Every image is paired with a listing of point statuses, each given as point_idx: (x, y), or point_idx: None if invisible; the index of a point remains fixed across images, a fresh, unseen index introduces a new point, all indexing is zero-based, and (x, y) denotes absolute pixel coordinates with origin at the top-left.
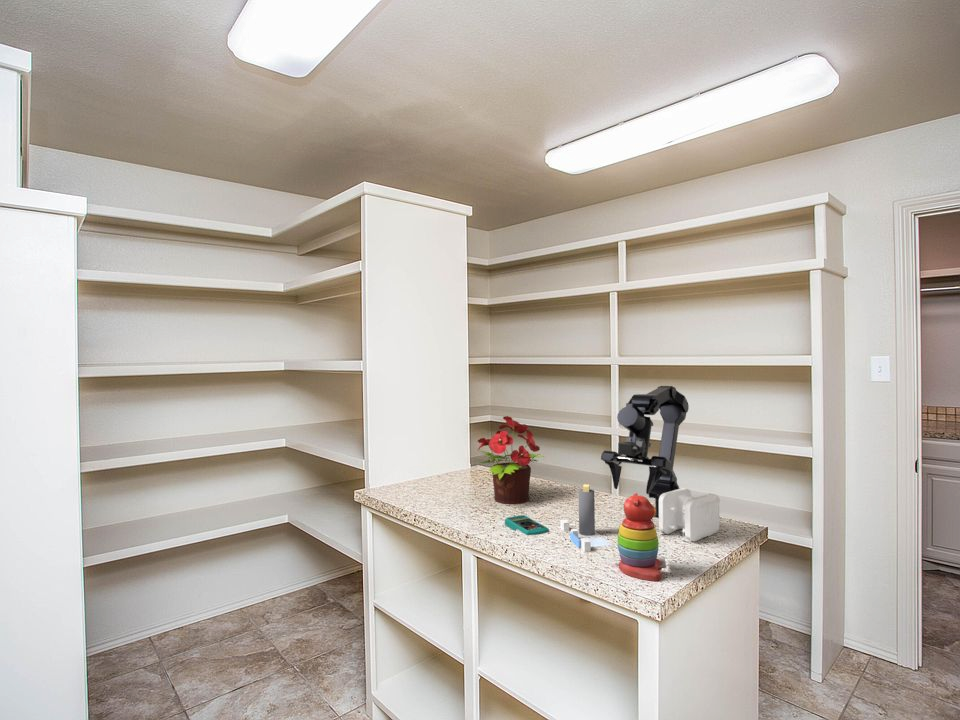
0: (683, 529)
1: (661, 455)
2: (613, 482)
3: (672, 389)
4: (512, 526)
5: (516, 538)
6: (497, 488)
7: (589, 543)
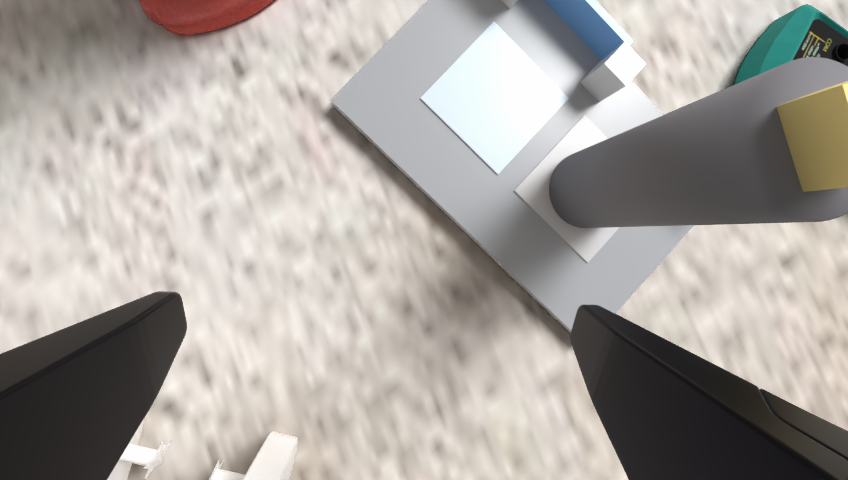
0: (150, 457)
1: None
2: (653, 335)
3: None
4: None
5: (816, 3)
6: None
7: None
